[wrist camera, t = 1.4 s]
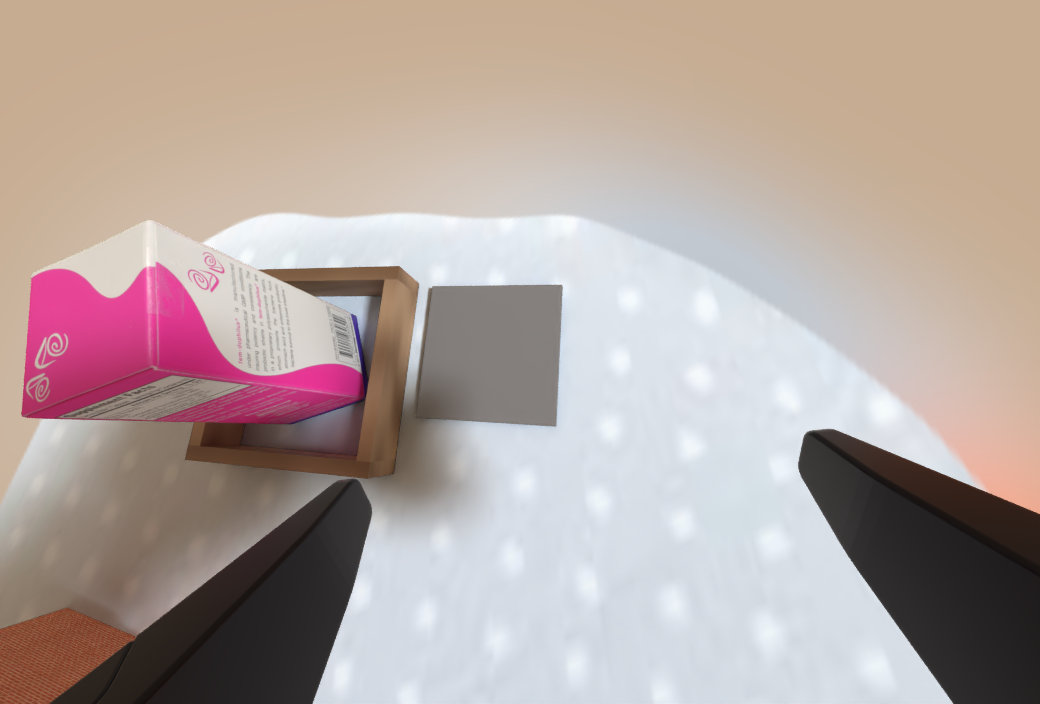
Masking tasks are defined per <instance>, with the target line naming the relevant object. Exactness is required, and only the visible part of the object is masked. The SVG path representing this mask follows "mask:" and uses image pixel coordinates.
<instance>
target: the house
mask: <svg viewBox="0 0 1040 704" xmlns="http://www.w3.org/2000/svg"><path fill="white" fill-rule="evenodd" d="M135 638H136V637H134V636H132V635H130V634H127V633H125V632H123V631H120V630H118V629H116V628H113V627H111V626H109V625H106V624H104V623H102V622H99V621H97V620H95V619H92V618H90V617H88V616H85V615H83V614H81V613H78V612H76V611H74V610H71V609H69V608H65V609H62V610H58V611H55V612H52V613H49V614H46V615H43V616H40V617H37V618H34V619H31V620H28V621H25V622H22V623H18V624H15V625H12V626H9V627H6V628H3V629H0V704H49V703H50V702H52V701H53V700H54V699H56V698H57V697H58V696H59V695H61V694H62V693H63V692H65V691H66V690H67V689H69V688H70V687H71V686H73V685H74V684H75V683H77V682H78V681H79V680H80V679H82V678H83V677H84V676H86V675H87V674H88V673H90V672H91V671H92V670H94V669H95V668H96V667H98V666H99V665H100V664H101V663H103V662H104V661H105V660H107V659H108V658H109V657H110V656H112V655H113V654H114V653H116V652H117V651H118V650H119V649H121V648H122V647H123V646H125V645H126V644H127V643H128V642H130V641H134V640H135Z"/></svg>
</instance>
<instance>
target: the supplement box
mask: <svg viewBox="0 0 1040 704" xmlns="http://www.w3.org/2000/svg"><path fill="white" fill-rule="evenodd" d="M367 389H368V381H367V375H366V369H365V363H364V357H363V352H362V346H361V341H360V335H359V329H358V323H357V318H356V315H353V314H350V313H349V312H347V311H345V310H342V309H340V308H338V307H336V306H334V305H332V304H330V303H327V302H325V301H323V300H321V299H319V298H317V297H315V296H313V295H311V294H308V293H306V292H304V291H302V290H300V289H298V288H295V287H293V286H291V285H289V284H287V283H285V282H283V281H280V280H278V279H276V278H274V277H272V276H270V275H268V274H266V273H264V272H261V271H259V270H257V269H255V268H253V267H251V266H249V265H247V264H244V263H242V262H240V261H238V260H236V259H234V258H232V257H230V256H227V255H225V254H223V253H221V252H219V251H217V250H215V249H213V248H211V247H208V246H206V245H204V244H202V243H200V242H198V241H196V240H194V239H191V238H189V237H187V236H185V235H183V234H181V233H179V232H177V231H174V230H172V229H170V228H168V227H166V226H164V225H161V224H160V223H158V222H155V221H152V220H146V221H143V222H142V223H140V224H137V225H135V226H133V227H131V228H130V229H127V230H125V231H123V232H121V233H119V234H117V235H115V236H113V237H111V238H109V239H107V240H105V241H103V242H101V243H99V244H97V245H95V246H92V247H90V248H88V249H86V250H84V251H82V252H79V253H77V254H74V255H72V256H70V257H68V258H65V259H63V260H61V261H58V262H56V263H54V264H51V265H49V266H47V267H44V268H42V269H40V270H38V271H36V272H34V273H32V277H31V293H30V310H29V321H28V334H27V348H26V363H25V375H24V389H23V404H22V413H21V414H22V417H27V418H43V419H79V420H127V421H167V422H218V423H257V424H293V423H297V422H299V421H303V420H306V419H309V418H312V417H315V416H318V415H321V414H324V413H327V412H330V411H333V410H336V409H339V408H342V407H345V406H348V405H351V404H354V403H357V402H360V401H363V400H365V399H366V395H367Z"/></svg>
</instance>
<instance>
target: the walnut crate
mask: <svg viewBox="0 0 1040 704" xmlns="http://www.w3.org/2000/svg"><path fill="white" fill-rule="evenodd" d="M259 271H261V272H264V273H266V274H268V275H270V276H272V277H274V278H276V279H278V280H280V281H283V282H285V283H287V284H289V285H291V286H293V287H295V288H298V289H300V290H302V291H304V292H306V293H308V294H311V295H313V296H382V300H381V306H380V312H379V319H378V325H377V332H376V338H375V344H374V351H373V357H372V363H371V370H370V376H369V383H368V389H367V395H366V402H365V408H364V415H363V421H362V427H361V434H360V440H359V446H358V453H357V456H354V455H343V454H332V453H321V452H310V451H299V450H288V449H277V448H266V447H255V446H244V445H240V444H241V439H242V435H243V430H244V426H245V423H218V422H194V425H193V429H192V433H191V437H190V441H189V445H188V449H187V453H186V457H185V460H194V461H203V462H213V463H223V464H232V465H242V466H251V467H261V468H271V469H280V470H290V471H300V472H309V473H319V474H328V475H338V476H348V477H357V478H367V479H368V478H374V477H379V476H384V475H390V474H394V466H395V459H396V451H397V444H398V437H399V429H400V422H401V414H402V407H403V400H404V392H405V385H406V377H407V370H408V362H409V355H410V348H411V340H412V333H413V325H414V318H415V311H416V303H417V296H418V288H419V283H418V282H417V281H415V280H414V279H413V278H412V277H411V276H410V275H409V274H408V273H406V272H405V271H404V270H403V269H402V268H401V267H400V266H390V267H349V268H308V269H267V270H259Z"/></svg>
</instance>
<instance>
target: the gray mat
mask: <svg viewBox="0 0 1040 704" xmlns="http://www.w3.org/2000/svg"><path fill="white" fill-rule="evenodd" d="M562 288H563V287H562V285H508V286H432V294H431V302H430V310H429V318H428V326H427V334H426V342H425V350H424V358H423V365H422V373H421V381H420V389H419V397H418V405H417V413H416V417H418V418H433V419H448V420H464V421H479V422H495V423H510V424H525V425H541V426H556V420H557V398H558V376H559V354H560V332H561V310H562Z"/></svg>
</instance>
